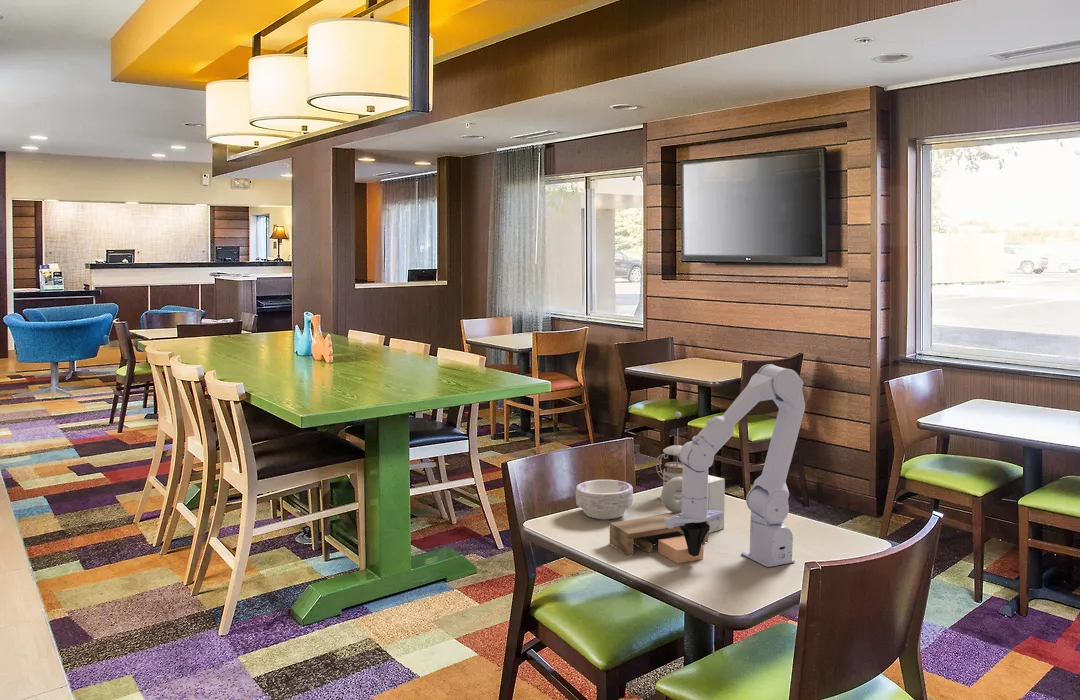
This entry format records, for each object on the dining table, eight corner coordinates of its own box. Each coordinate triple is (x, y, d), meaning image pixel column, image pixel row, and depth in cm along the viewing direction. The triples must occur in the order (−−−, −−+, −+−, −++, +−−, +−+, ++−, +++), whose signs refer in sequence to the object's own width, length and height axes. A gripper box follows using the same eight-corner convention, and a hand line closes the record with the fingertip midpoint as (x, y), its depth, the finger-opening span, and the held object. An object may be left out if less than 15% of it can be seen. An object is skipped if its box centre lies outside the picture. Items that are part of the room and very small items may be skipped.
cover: (703, 558, 194) (703, 546, 194) (677, 563, 191) (677, 550, 191) (683, 547, 202) (683, 535, 201) (658, 552, 199) (658, 539, 198)
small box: (724, 528, 216) (725, 478, 214) (708, 534, 212) (709, 482, 210) (699, 521, 222) (700, 472, 221) (683, 526, 218) (684, 476, 217)
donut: (664, 516, 226) (664, 479, 225) (658, 512, 229) (659, 476, 228) (698, 513, 229) (699, 477, 228) (693, 509, 232) (693, 473, 231)
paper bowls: (568, 509, 233) (568, 480, 232) (620, 504, 237) (621, 476, 236) (586, 525, 218) (586, 495, 217) (641, 521, 222) (641, 491, 221)
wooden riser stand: (707, 542, 205) (708, 521, 205) (628, 555, 196) (628, 533, 196) (686, 531, 213) (686, 511, 213) (609, 543, 204) (609, 522, 204)
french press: (681, 505, 236) (682, 416, 233) (647, 497, 244) (648, 411, 241) (700, 498, 243) (702, 411, 240) (667, 490, 251) (668, 406, 248)
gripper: (711, 487, 197) (709, 544, 198) (657, 494, 191) (656, 553, 192) (729, 495, 190) (728, 554, 192) (675, 503, 184) (674, 563, 186)
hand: (693, 554), depth 192 cm, fingers closed, pressing on cover
